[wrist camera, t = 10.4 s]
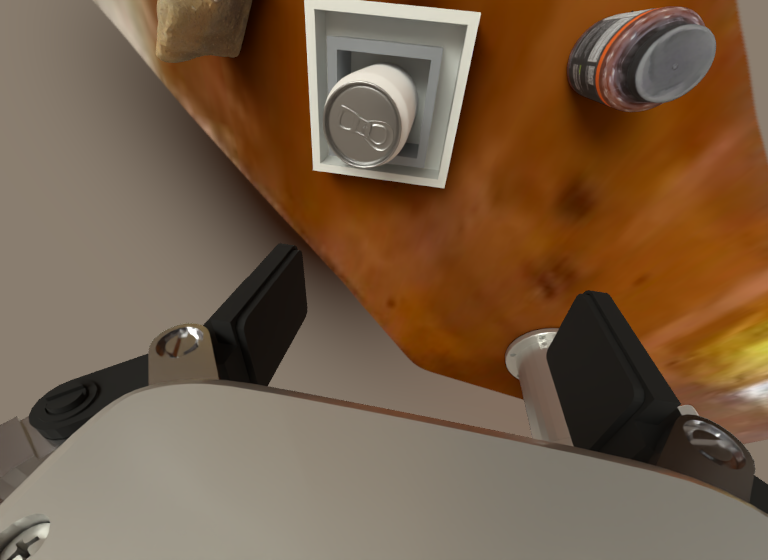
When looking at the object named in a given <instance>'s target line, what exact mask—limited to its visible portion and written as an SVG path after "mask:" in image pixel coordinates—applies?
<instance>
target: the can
mask: <svg viewBox="0 0 768 560" xmlns="http://www.w3.org/2000/svg"><path fill="white" fill-rule="evenodd" d="M417 108H418V92H417V88H416V85H415V82H414V80H413V79H412V77H411V76H410V74H409V73H408V72H407V71H406V70H405V69H403V68H402V67H400V66H398V65H396V64H393V63H388V62H382V63H377V64H374V65H371V66H368V67H366V68H363V69H360V70H358V71H355V72H353V73H351V74H349V75H347V76H345V77H344V78H342V79H341V80H340V81H339V82H338V83H337V84H336V85H335V86H334V87H333V88H332V90H331V91H330V93H329V95H328V97H327V100H326V103H325V108H324V113H323V130H324V135H325V138H326V140H327V143H328V145H329V146H330V148H331V150H332V151H333V152H334V154H335V155H336V156H337V157H338V158H339V159H341V160H342V161H343V162H345V163H347V164H349V165H351V166H353V167H357V168H373V167H376V166H380V165H383V164H385V163H387V162H389V161H390V160H392V159H393V158H394V157H395V156H396V155H397V154H398V153H399V152H400V151H401V149H402V148H403V146H404V144H405V142H406V140H407V138H408V135H409V133H410V130H411V127H412V124H413V122H414V119H415V116H416V112H417Z"/></svg>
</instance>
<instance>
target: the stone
mask: <svg viewBox="0 0 768 560" xmlns="http://www.w3.org/2000/svg"><path fill="white" fill-rule="evenodd" d="M251 4H252V0H158V2H157V17H158V27H157V33H158V35H157V43H156V56H157V57H158V58H159V59H160V60H162V61H164V62H172V63H176V62H183V61H188V60H191V59H193V58H196V57H200V56H204V55H214V56H222V57H227V56H229V57H232V58H234V57H237V56H238V55H239V53H240V50H241V46H242V42H243V38H244V34H245V30H246V26H247V21H248V16H249V12H250V8H251Z"/></svg>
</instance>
